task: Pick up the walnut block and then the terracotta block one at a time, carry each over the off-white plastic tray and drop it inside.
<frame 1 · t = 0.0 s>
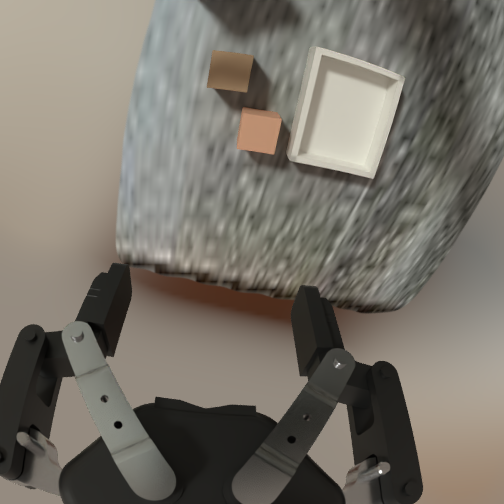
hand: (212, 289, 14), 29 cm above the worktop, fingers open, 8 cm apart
terracotta block: (257, 125, 37), on the worktop
tray: (341, 110, 36), on the worktop
walnut block: (231, 69, 32), on the worktop
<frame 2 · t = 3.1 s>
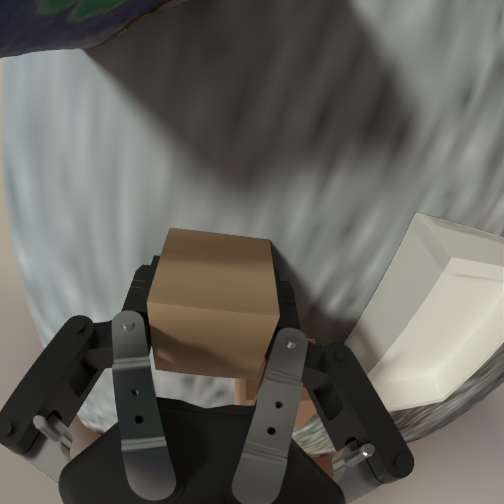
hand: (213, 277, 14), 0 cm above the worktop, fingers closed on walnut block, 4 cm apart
terracotta block: (272, 355, 20), on the worktop
tray: (429, 319, 18), on the worktop
walnut block: (214, 271, 15), on the worktop, touching gripper
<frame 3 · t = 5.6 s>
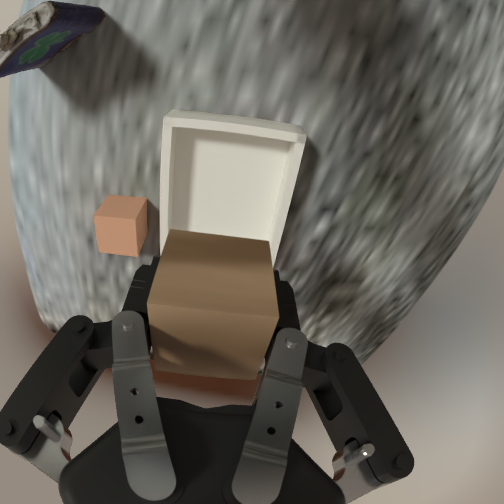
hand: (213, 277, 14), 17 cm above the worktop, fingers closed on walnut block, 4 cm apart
terracotta block: (128, 213, 32), on the worktop
flask: (67, 36, 19), on the worktop
tray: (225, 186, 30), on the worktop
walnut block: (214, 272, 15), point 17 cm above the worktop, touching gripper
when the fingers open (4 cm above the worktop, at t = 8.2 s): walnut block drops 2 cm, resting on tray.
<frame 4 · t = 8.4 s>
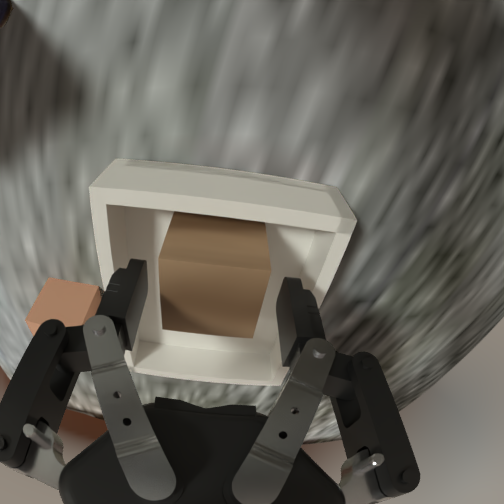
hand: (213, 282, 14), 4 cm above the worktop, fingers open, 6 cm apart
terracotta block: (78, 301, 21), on the worktop
tray: (212, 278, 20), on the worktop
walnut block: (216, 244, 17), point 1 cm above the worktop, touching tray
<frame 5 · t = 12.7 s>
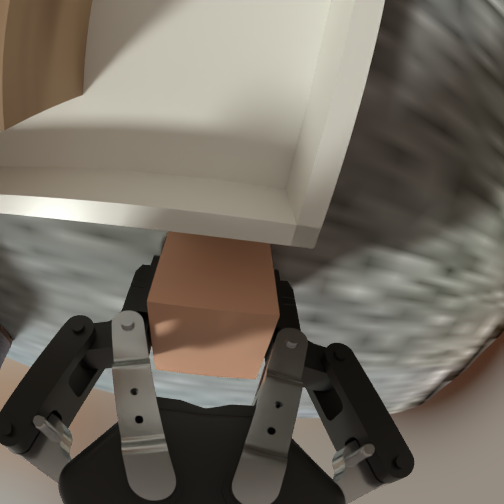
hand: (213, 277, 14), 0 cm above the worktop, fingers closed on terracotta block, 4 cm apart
terracotta block: (214, 271, 15), on the worktop, touching gripper
tray: (127, 34, 8), on the worktop
walnut block: (38, 44, 7), point 1 cm above the worktop, touching tray
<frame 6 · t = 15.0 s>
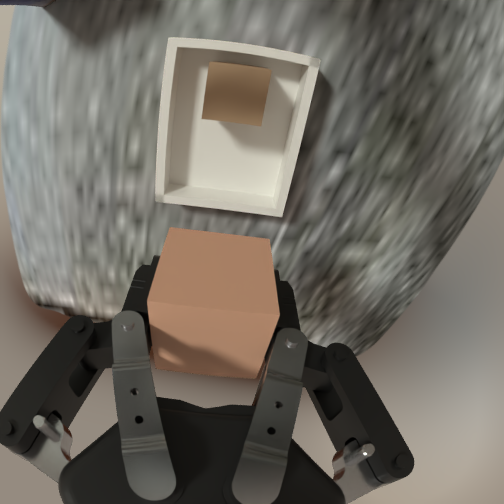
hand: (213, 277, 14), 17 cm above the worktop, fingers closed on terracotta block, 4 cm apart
terracotta block: (214, 271, 15), point 17 cm above the worktop, touching gripper
tray: (231, 121, 26), on the worktop
walnut block: (236, 87, 23), point 1 cm above the worktop, touching tray
when the fingers open (4 cm above the worktop, at t = 17.5 s): terracotta block drops 2 cm, resting on tray.
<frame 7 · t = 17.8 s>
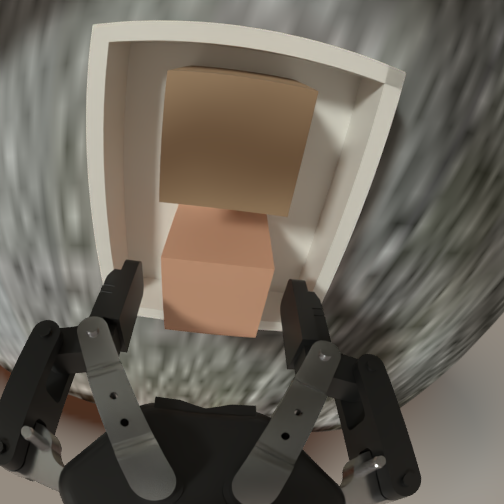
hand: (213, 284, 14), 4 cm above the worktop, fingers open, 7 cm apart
terracotta block: (218, 243, 17), point 1 cm above the worktop, touching tray
tray: (225, 177, 15), on the worktop
walnut block: (234, 117, 13), point 1 cm above the worktop, touching tray
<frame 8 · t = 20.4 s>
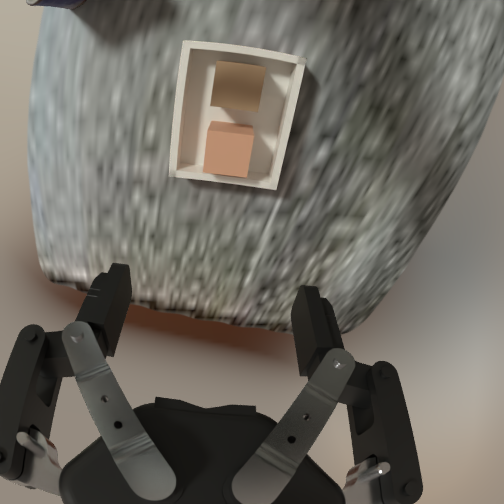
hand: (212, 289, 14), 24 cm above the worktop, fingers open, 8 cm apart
terracotta block: (229, 141, 32), point 1 cm above the worktop, touching tray
tray: (233, 110, 31), on the worktop
walnut block: (238, 82, 28), point 1 cm above the worktop, touching tray
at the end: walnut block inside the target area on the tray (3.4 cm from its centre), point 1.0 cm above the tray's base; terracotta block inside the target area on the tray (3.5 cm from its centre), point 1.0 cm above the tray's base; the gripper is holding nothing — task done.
